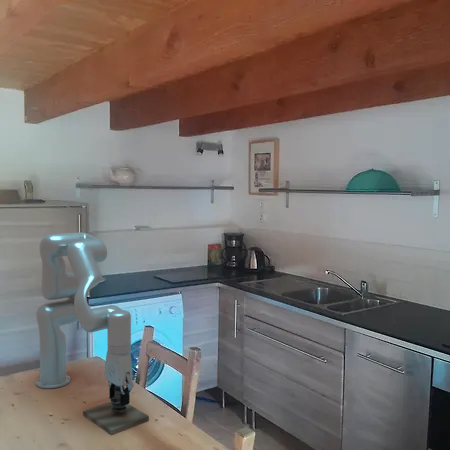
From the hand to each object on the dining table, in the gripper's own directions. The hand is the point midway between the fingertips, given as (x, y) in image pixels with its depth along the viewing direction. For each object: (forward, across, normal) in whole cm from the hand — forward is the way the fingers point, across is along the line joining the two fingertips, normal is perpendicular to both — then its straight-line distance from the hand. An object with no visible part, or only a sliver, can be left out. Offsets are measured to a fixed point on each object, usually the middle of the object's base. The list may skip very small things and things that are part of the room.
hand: (119, 400), depth 165 cm
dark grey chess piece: (+3, 0, 0) cm, 3 cm away
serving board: (+6, -1, -1) cm, 6 cm away
